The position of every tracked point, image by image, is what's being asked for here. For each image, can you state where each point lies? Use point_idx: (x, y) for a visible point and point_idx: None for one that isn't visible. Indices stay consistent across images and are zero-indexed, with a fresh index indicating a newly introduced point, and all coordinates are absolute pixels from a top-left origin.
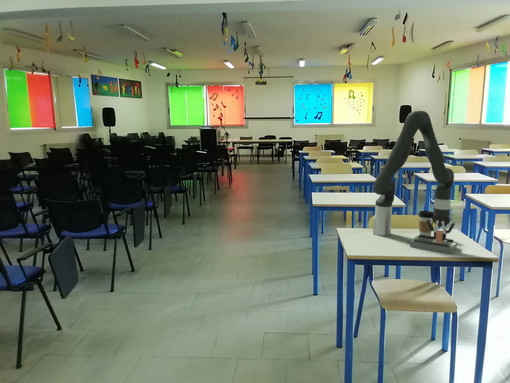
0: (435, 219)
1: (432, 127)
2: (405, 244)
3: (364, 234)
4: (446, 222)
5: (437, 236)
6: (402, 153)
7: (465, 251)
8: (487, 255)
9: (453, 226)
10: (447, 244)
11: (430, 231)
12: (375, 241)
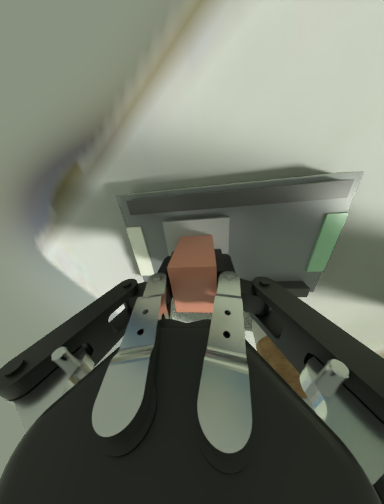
0: (286, 478)
1: None
2: (355, 200)
3: None
4: (84, 398)
5: (203, 249)
6: None
7: (117, 258)
8: (57, 258)
9: (41, 339)
10: (140, 211)
11: (260, 344)
12: None
